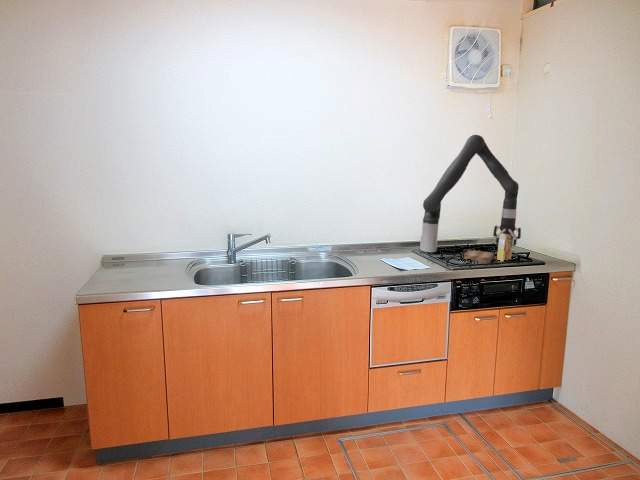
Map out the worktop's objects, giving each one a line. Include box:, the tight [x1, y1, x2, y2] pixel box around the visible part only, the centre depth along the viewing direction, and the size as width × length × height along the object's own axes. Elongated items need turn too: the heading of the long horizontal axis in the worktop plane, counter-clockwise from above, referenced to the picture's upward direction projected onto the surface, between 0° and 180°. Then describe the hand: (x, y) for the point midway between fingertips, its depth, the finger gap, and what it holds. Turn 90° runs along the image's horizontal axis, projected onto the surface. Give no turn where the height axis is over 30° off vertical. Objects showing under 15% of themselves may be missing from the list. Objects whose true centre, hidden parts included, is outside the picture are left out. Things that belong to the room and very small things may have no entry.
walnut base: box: [463, 249, 494, 264], centre depth 266 cm, size 14×14×3 cm
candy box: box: [496, 233, 514, 262], centre depth 264 cm, size 9×4×15 cm, turn 129°
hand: (505, 244), depth 264 cm, fingers open, 8 cm apart
